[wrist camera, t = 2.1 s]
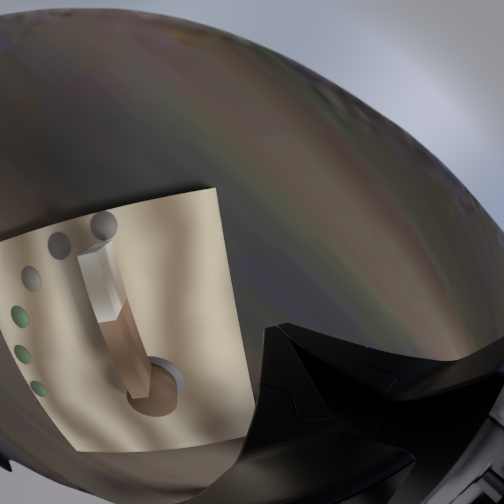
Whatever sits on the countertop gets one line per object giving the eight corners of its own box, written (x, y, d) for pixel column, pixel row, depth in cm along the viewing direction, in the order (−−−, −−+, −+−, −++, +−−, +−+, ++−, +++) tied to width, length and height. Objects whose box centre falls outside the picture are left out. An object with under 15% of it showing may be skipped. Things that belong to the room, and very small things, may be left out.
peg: (182, 397, 20) (185, 430, 17) (139, 403, 19) (136, 435, 16) (132, 235, 17) (118, 246, 13) (80, 246, 16) (57, 261, 12)
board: (213, 187, 19) (215, 187, 18) (258, 424, 25) (261, 433, 24) (-18, 248, 15) (-26, 251, 13) (78, 443, 21) (76, 451, 19)
